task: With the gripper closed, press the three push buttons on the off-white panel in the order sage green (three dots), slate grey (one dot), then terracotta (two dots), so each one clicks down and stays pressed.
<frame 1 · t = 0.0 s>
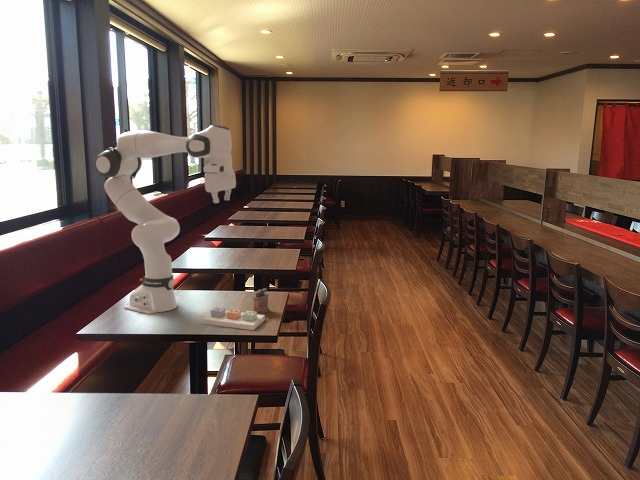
hand: (221, 201, 205), 48 cm above the table, tool pointing down, fingers open, 8 cm apart
lighter: (261, 312, 219), on the table
button slate: (218, 312, 208), point 3 cm above the table, slide at 0.0 cm
panel: (234, 321, 207), on the table
button terracotta: (233, 314, 206), point 3 cm above the table, slide at 0.0 cm
button sage: (249, 316, 205), point 3 cm above the table, slide at 0.0 cm
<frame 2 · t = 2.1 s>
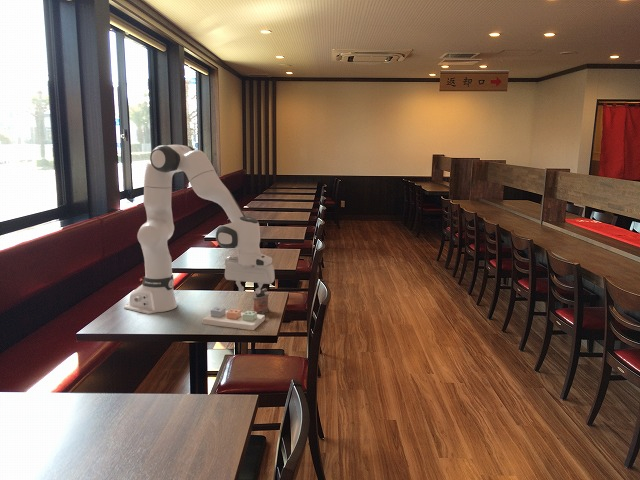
hand: (249, 292, 202), 13 cm above the table, tool pointing down, fingers open, 6 cm apart
nothing on the table moved.
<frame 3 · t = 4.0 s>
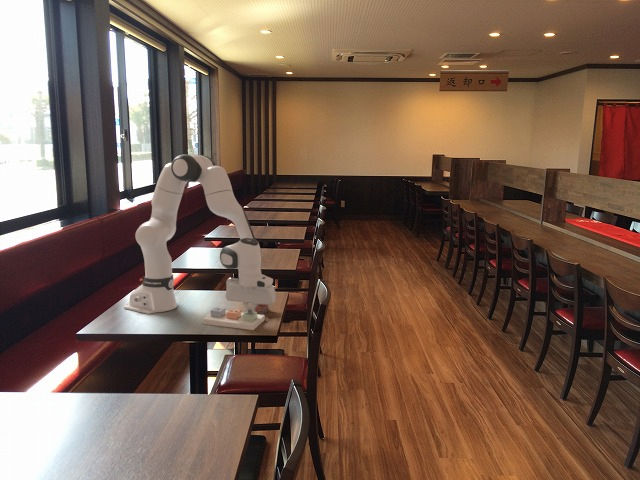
hand: (250, 312, 204), 5 cm above the table, tool pointing down, fingers closed, pressing on button sage
button sage: (249, 316, 205), point 3 cm above the table, slide at 0.1 cm, touching gripper
everything else where it was.
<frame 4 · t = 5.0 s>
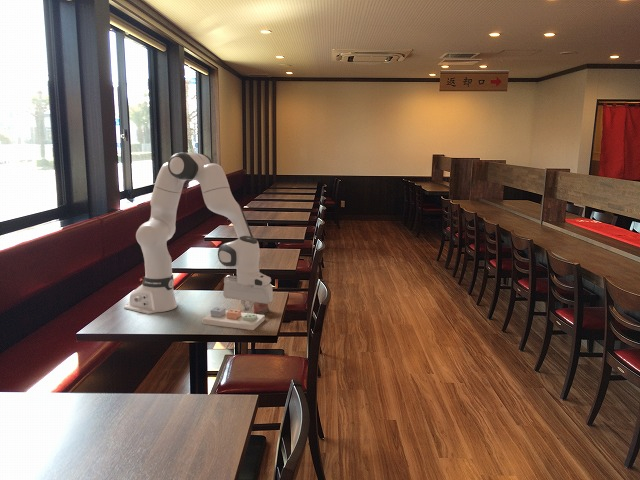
hand: (247, 310, 204), 5 cm above the table, tool pointing down, fingers closed
button sage: (249, 319, 205), point 2 cm above the table, slide at 1.3 cm
everything else where it was.
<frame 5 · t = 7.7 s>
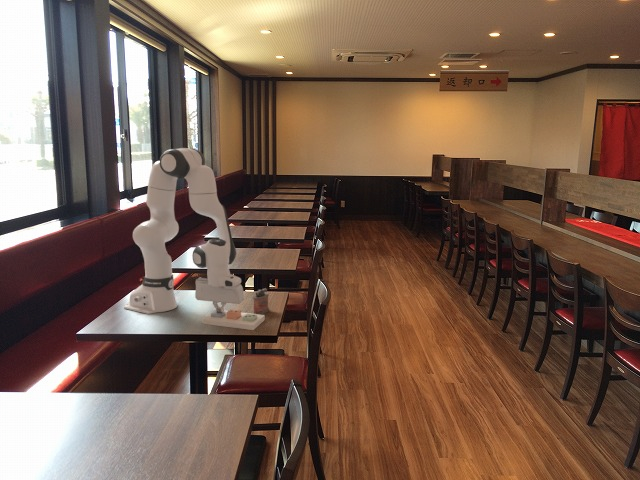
hand: (219, 311, 209), 3 cm above the table, tool pointing down, fingers closed, pressing on button slate
button slate: (218, 315, 209), point 2 cm above the table, slide at 1.3 cm, touching gripper
everything else where it was.
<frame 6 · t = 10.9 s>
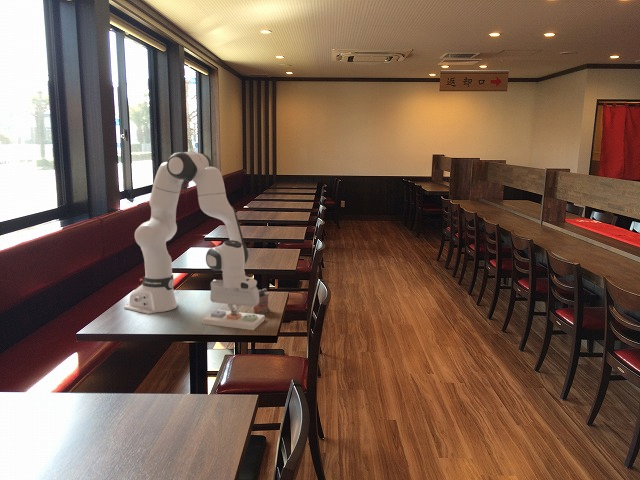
hand: (235, 314, 207), 3 cm above the table, tool pointing down, fingers closed, pressing on button terracotta
button slate: (218, 315, 209), point 2 cm above the table, slide at 1.3 cm
button terracotta: (234, 317, 207), point 2 cm above the table, slide at 1.5 cm, touching gripper
everything else where it was.
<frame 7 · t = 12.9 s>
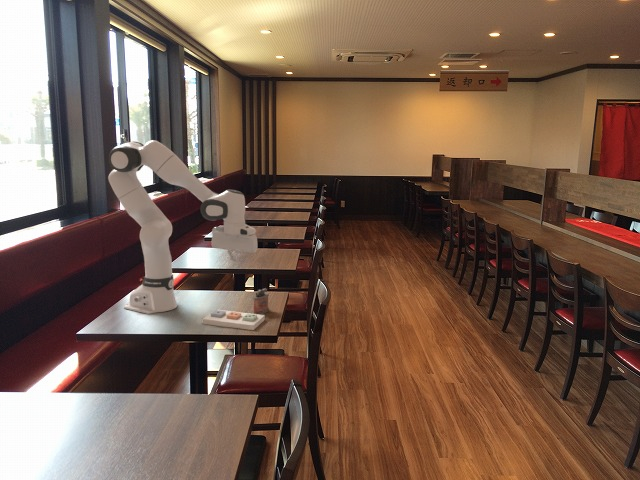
hand: (234, 260, 217), 22 cm above the table, tool pointing down, fingers closed
button terracotta: (234, 317, 207), point 2 cm above the table, slide at 1.3 cm
everything else where it was.
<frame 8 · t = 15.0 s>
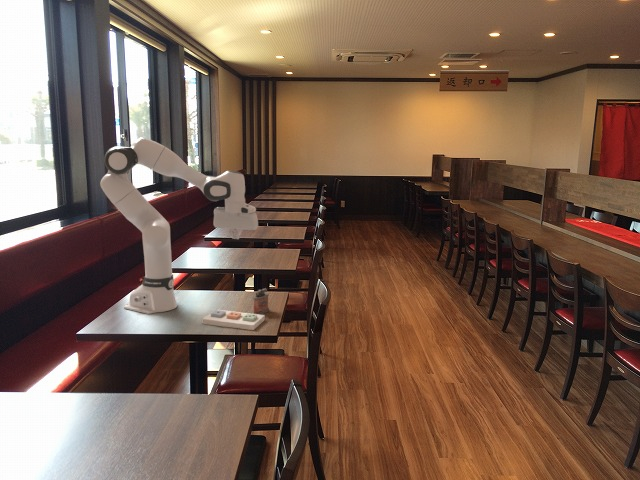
hand: (235, 238, 226), 29 cm above the table, tool pointing down, fingers closed
nothing on the table moved.
at the end: button sage slide at 1.3 cm; button slate slide at 1.3 cm; button terracotta slide at 1.3 cm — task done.
